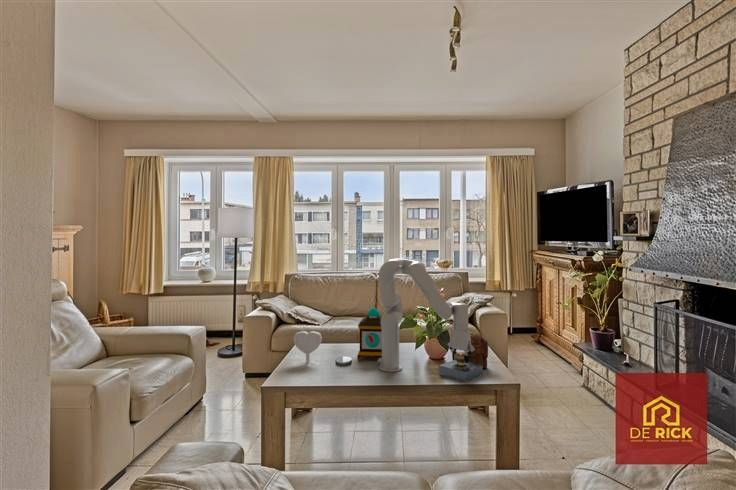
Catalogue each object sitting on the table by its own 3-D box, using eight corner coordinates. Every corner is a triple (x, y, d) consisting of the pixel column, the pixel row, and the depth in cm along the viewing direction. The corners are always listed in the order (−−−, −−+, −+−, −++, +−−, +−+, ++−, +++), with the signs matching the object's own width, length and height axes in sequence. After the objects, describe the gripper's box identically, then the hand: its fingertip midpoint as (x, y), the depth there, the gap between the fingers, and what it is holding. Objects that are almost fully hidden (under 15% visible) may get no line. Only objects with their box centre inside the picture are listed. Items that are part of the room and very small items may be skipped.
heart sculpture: (293, 364, 238) (293, 332, 238) (295, 361, 243) (295, 330, 243) (320, 364, 237) (320, 332, 237) (322, 362, 242) (322, 330, 242)
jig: (439, 374, 219) (439, 365, 219) (456, 368, 230) (456, 359, 230) (465, 382, 207) (465, 372, 207) (482, 375, 218) (482, 365, 218)
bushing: (458, 365, 223) (458, 351, 223) (470, 368, 219) (470, 353, 218) (451, 368, 219) (451, 353, 219) (462, 371, 214) (462, 356, 214)
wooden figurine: (465, 368, 229) (465, 335, 229) (465, 365, 235) (465, 333, 235) (488, 370, 227) (488, 336, 227) (487, 366, 233) (487, 334, 233)
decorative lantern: (391, 353, 261) (391, 305, 260) (389, 362, 241) (389, 310, 241) (359, 352, 263) (358, 304, 262) (354, 361, 243) (354, 309, 243)
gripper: (442, 325, 222) (442, 359, 222) (471, 330, 210) (471, 366, 210) (450, 323, 227) (450, 356, 227) (479, 328, 215) (479, 363, 215)
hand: (460, 361), depth 219 cm, fingers closed on bushing, 6 cm apart
